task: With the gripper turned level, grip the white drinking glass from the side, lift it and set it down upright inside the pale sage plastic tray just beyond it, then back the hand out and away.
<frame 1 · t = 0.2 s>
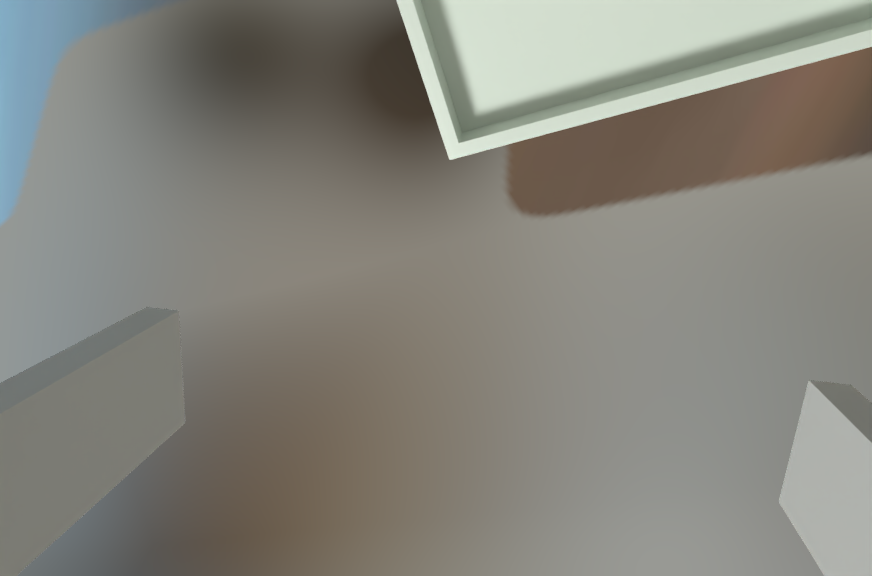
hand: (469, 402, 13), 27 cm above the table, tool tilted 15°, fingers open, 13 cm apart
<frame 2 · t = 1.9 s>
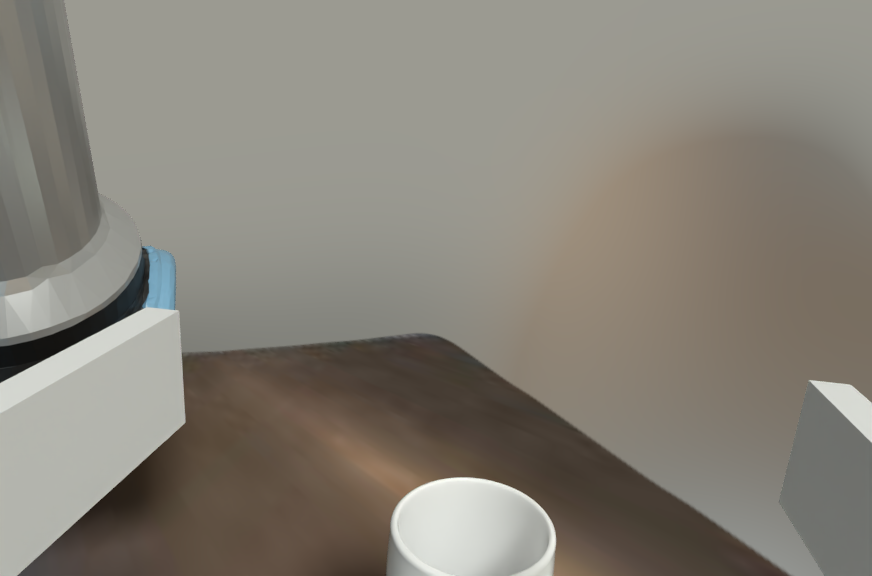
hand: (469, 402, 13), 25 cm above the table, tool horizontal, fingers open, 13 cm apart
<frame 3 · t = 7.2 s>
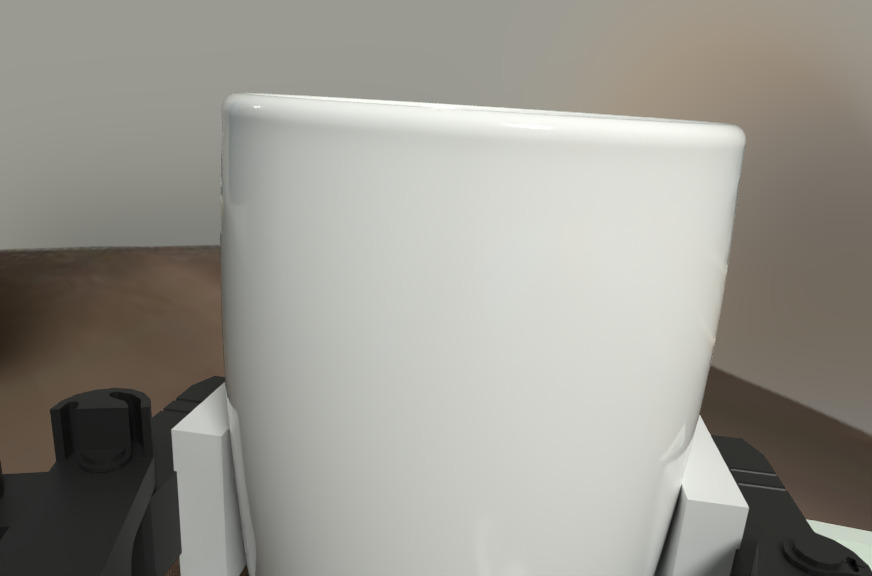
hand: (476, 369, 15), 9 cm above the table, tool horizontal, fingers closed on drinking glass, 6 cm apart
when the fingers open (11 cm above the table, at t = 12.5 s): drinking glass moves 3 cm, resting on tray.
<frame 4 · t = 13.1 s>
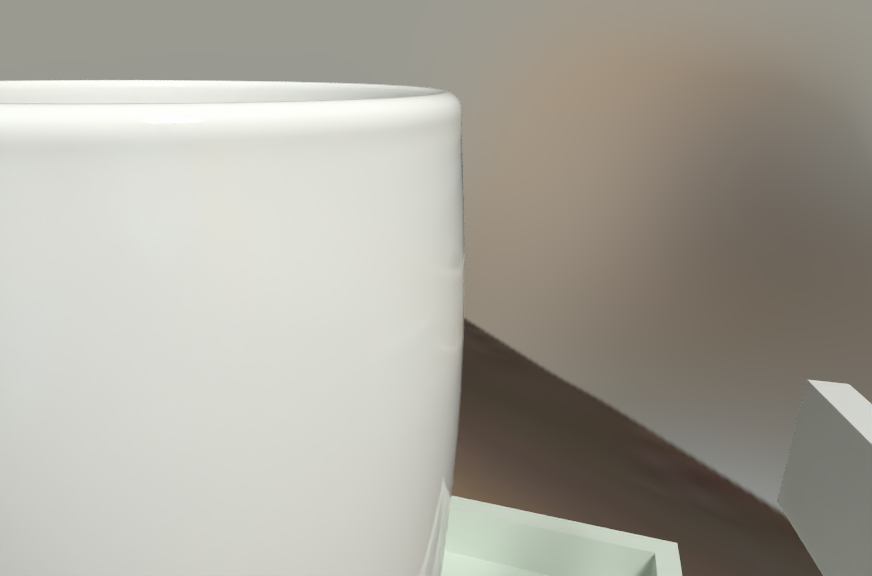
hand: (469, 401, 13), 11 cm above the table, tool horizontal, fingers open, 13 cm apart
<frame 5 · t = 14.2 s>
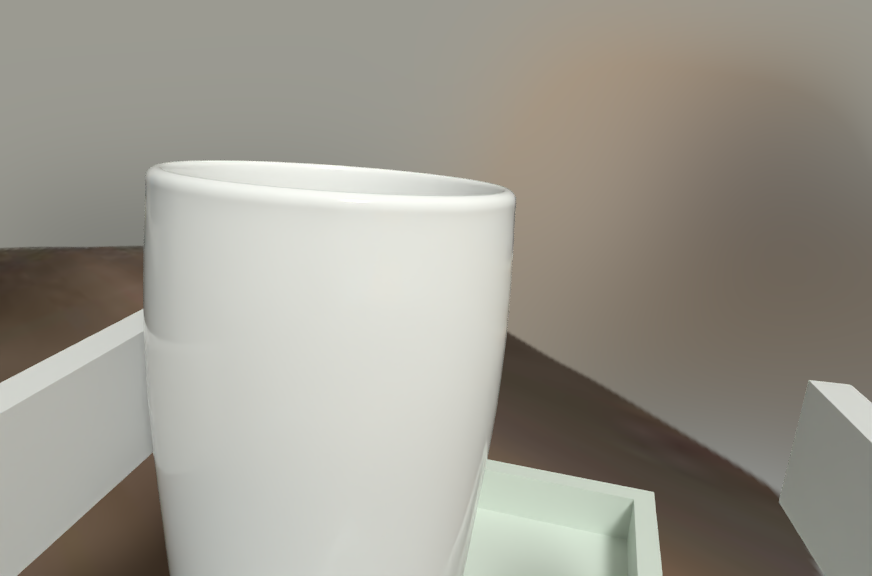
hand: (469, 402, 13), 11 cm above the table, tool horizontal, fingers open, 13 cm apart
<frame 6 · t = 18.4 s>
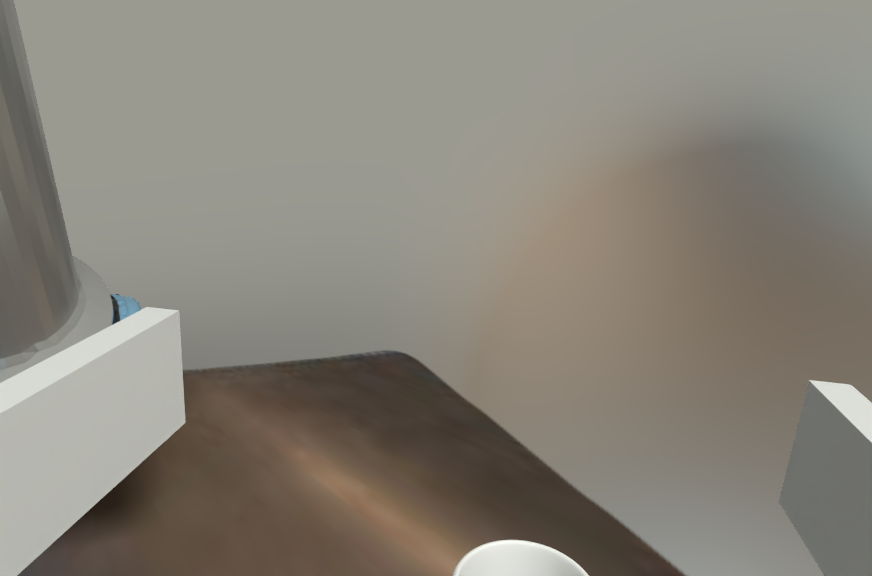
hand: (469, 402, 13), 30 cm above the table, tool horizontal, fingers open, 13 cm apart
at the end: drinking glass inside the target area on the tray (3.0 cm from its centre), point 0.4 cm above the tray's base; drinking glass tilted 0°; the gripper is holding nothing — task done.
